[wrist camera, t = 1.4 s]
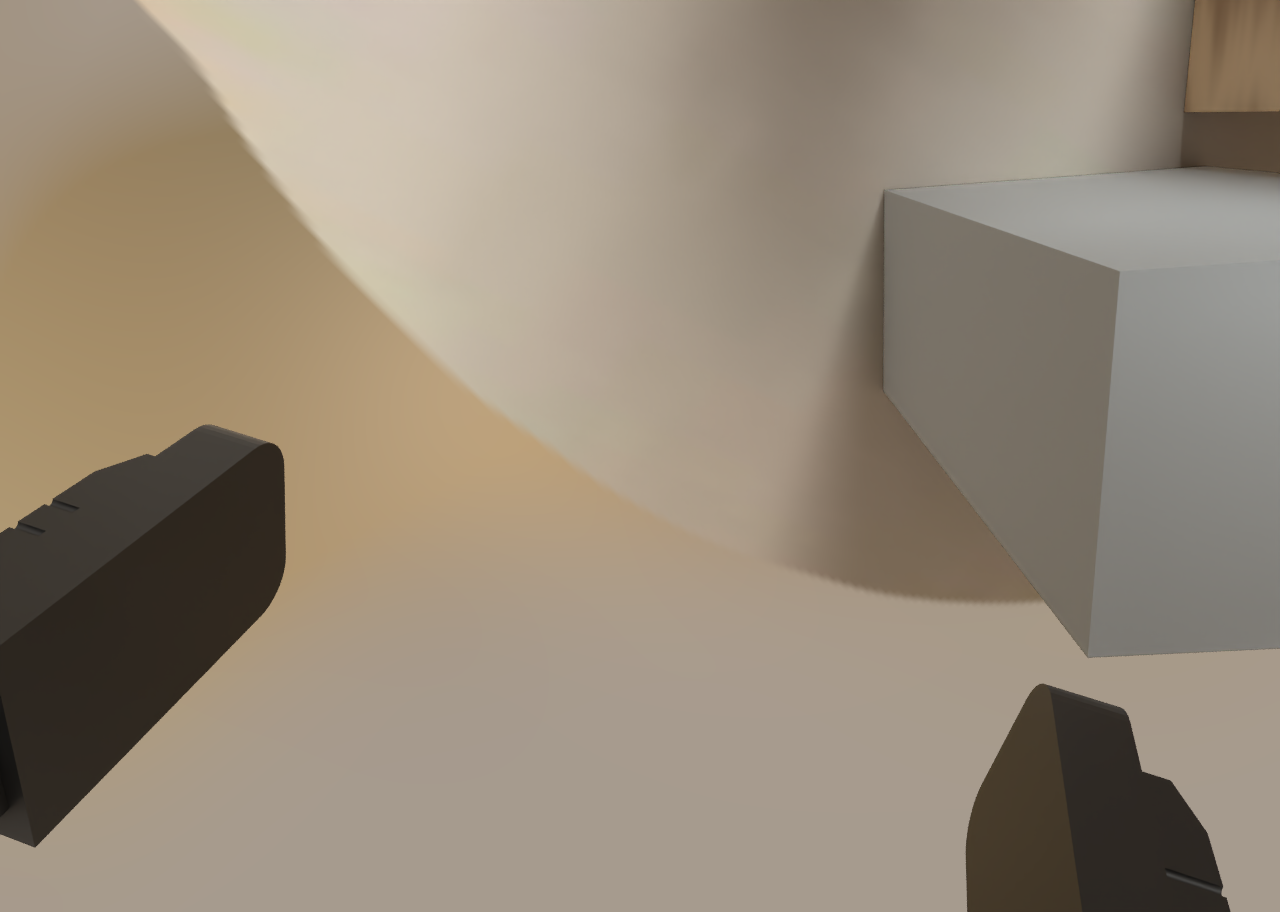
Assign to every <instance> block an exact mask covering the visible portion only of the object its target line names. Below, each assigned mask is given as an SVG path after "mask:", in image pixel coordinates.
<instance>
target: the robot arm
mask: <svg viewBox="0 0 1280 912" xmlns="http://www.w3.org/2000/svg"><path fill="white" fill-rule="evenodd" d="M285 560H286V544H285V482H284V459H283V455H282V453H281V450H280V449H279V448H278V446H276V445H275V444H272V443H269V442H266V441H263V440H260V439H256V438H253V437H250V436H246V435H243V434H240V433H237V432H234V431H230V430H227V429H224V428H221V427H218V426H214V425H203V426H200V427H198V428H197V429H195V430H193V431H192V432H190V433H189V434H187V435H186V436H184V437H183V438H181V439H180V440H179V441H177V442H176V443H174V444H173V445H171V446H170V447H168V448H167V449H165V450H164V451H162V452H161V453H160V454H158V455H157V456H152V455H149V454H146V455H143V456H140V457H137V458H134V459H131V460H128V461H125V462H122V463H119V464H116V465H113V466H110V467H107V468H104V469H101V470H98V471H95V472H93V473H92V474H90V475H89V476H87V477H85V478H84V479H82V480H81V481H79V482H78V483H76V484H75V485H73V486H72V487H70V488H69V489H67V490H66V491H64V492H63V493H61V494H59V495H58V496H56V497H55V498H53V501H52V504H51V505H50V506H47V505H45V504H44V505H43V506H41V507H40V508H38V509H37V510H35V511H33V512H32V513H31V514H29V515H28V516H26V517H24V518H23V519H21V520H20V521H18V525H17V527H16V528H15V529H13V528H10V527H9V528H7V529H6V530H4V531H3V532H1V533H0V834H1V835H4V836H6V837H9V838H12V839H14V840H17V841H20V842H22V843H25V844H28V845H30V846H32V847H36V846H37V845H38V844H39V843H40V842H41V841H42V840H43V839H44V838H45V837H46V836H47V835H48V834H49V833H50V832H51V831H52V830H53V829H54V828H55V826H56V825H58V824H59V823H60V821H61V820H62V819H63V818H64V817H65V816H66V815H67V814H68V813H69V812H70V811H71V810H72V809H73V808H74V807H75V806H76V805H77V804H78V803H79V802H80V801H81V800H82V799H83V798H84V797H85V796H86V795H87V794H88V793H89V792H90V791H91V790H92V789H93V788H94V787H95V786H96V785H97V784H98V783H99V781H100V780H101V779H102V778H103V777H104V776H105V775H106V774H107V773H108V772H109V771H110V770H111V769H112V768H113V767H114V766H115V765H116V764H117V763H118V762H119V761H120V760H121V759H122V758H123V757H124V756H125V755H126V754H127V753H128V752H129V751H130V750H131V749H132V748H133V747H134V746H135V745H136V744H137V743H138V742H139V740H140V739H141V738H142V737H143V736H144V735H145V734H146V733H147V732H148V731H149V730H150V729H151V728H152V727H153V726H154V725H155V724H156V723H157V722H158V721H159V720H160V719H161V718H162V717H163V716H164V715H165V714H166V713H167V712H168V711H169V710H170V709H171V707H172V706H174V705H175V704H176V703H177V702H178V700H179V699H180V698H181V697H182V696H183V695H184V694H185V693H186V692H187V691H188V690H189V689H190V688H191V687H192V686H193V685H194V684H195V683H196V682H197V681H198V680H199V679H200V678H201V677H202V676H203V675H204V674H205V673H206V672H207V671H208V670H209V669H210V668H211V667H212V666H213V665H214V664H215V663H216V662H217V660H218V659H219V658H220V657H221V656H222V655H223V654H224V653H225V652H226V651H227V650H228V649H229V648H230V647H231V646H232V645H233V644H234V643H235V642H236V641H237V640H238V639H239V638H240V637H241V636H242V635H243V634H244V633H245V632H246V631H247V630H248V629H249V628H250V627H251V626H252V625H253V624H254V623H255V622H256V621H257V620H258V618H259V617H260V616H261V615H262V614H263V613H264V612H265V611H266V609H267V608H268V607H269V605H270V603H271V602H272V600H273V598H274V596H275V594H276V592H277V590H278V588H279V586H280V583H281V580H282V577H283V573H284V568H285ZM966 875H967V876H966V878H967V879H966V880H967V912H1230V909H1229V905H1228V902H1227V898H1225V897H1223V896H1222V895H1221V891H1222V888H1223V884H1222V881H1221V878H1220V874H1219V871H1218V867H1217V864H1216V861H1215V857H1214V854H1213V851H1212V847H1211V844H1210V840H1209V837H1208V834H1207V832H1206V830H1205V829H1204V828H1203V826H1202V825H1201V823H1200V822H1199V820H1198V819H1197V818H1196V816H1195V815H1194V814H1193V812H1192V810H1191V809H1190V808H1189V806H1188V805H1187V803H1186V802H1185V801H1184V799H1183V798H1182V796H1181V795H1180V793H1179V792H1178V790H1177V789H1176V787H1175V786H1174V785H1173V783H1172V782H1171V781H1170V780H1167V779H1164V778H1161V777H1157V776H1154V775H1151V774H1148V773H1145V772H1142V770H1141V766H1140V762H1139V757H1138V753H1137V749H1136V745H1135V740H1134V736H1133V732H1132V728H1131V724H1130V721H1129V717H1128V715H1127V713H1126V712H1125V711H1124V710H1123V709H1122V708H1120V707H1117V706H1114V705H1110V704H1107V703H1104V702H1101V701H1098V700H1094V699H1091V698H1088V697H1085V696H1081V695H1078V694H1075V693H1071V692H1068V691H1065V690H1062V689H1059V688H1056V687H1052V686H1049V685H1046V684H1039V685H1038V686H1036V687H1035V688H1034V689H1033V690H1032V692H1031V693H1030V694H1029V696H1028V698H1027V699H1026V701H1025V704H1024V705H1023V707H1022V709H1021V711H1020V713H1019V715H1018V717H1017V719H1016V720H1015V722H1014V724H1013V726H1012V728H1011V730H1010V732H1009V734H1008V736H1007V738H1006V740H1005V741H1004V743H1003V745H1002V747H1001V749H1000V751H999V753H998V755H997V757H996V758H995V761H994V763H993V764H992V766H991V768H990V770H989V772H988V774H987V776H986V778H985V779H984V782H983V783H982V785H981V787H980V789H979V792H978V794H977V797H976V800H975V802H974V806H973V809H972V813H971V817H970V821H969V826H968V833H967V840H966Z"/></svg>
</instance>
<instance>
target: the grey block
mask: <svg viewBox="0 0 1280 912" xmlns="http://www.w3.org/2000/svg"><path fill="white" fill-rule="evenodd" d="M883 391H884V393H885V394H886V395H887V397H888V398H889V399H890V400H891V402H892V403H893V404H894V406H895V407H896V408H897V410H898V411H899V412H900V414H901V415H902V416H903V417H904V419H905V420H906V421H907V423H908V424H909V425H910V427H911V428H912V429H913V430H914V432H915V433H916V434H917V436H918V437H919V438H920V440H921V441H922V442H923V444H924V445H925V446H926V447H927V449H928V450H929V451H930V453H931V454H932V455H933V457H934V458H935V459H936V460H937V462H938V463H939V464H940V466H941V467H942V468H943V470H944V471H945V472H946V474H947V475H948V476H949V477H950V479H951V480H952V481H953V483H954V484H955V485H956V487H957V488H958V489H959V490H960V492H961V493H962V494H963V496H964V497H965V498H966V500H967V501H968V502H969V504H970V505H971V506H972V507H973V509H974V510H975V511H976V513H977V514H978V515H979V517H980V518H981V519H982V520H983V522H984V523H985V524H986V526H987V527H988V528H989V530H990V531H991V532H992V534H993V535H994V536H995V537H996V539H997V540H998V541H999V543H1000V544H1001V545H1002V547H1003V548H1004V549H1005V550H1006V552H1007V553H1008V554H1009V556H1010V557H1011V558H1012V560H1013V561H1014V562H1015V564H1016V565H1017V566H1018V567H1019V569H1020V570H1021V571H1022V573H1023V574H1024V575H1025V577H1026V578H1027V579H1028V580H1029V582H1030V583H1031V584H1032V586H1033V587H1034V588H1035V590H1036V591H1037V592H1038V594H1039V595H1040V596H1041V597H1042V599H1043V600H1044V601H1045V603H1046V604H1047V605H1048V606H1049V608H1050V609H1051V610H1052V612H1053V613H1054V614H1055V616H1056V617H1057V618H1058V620H1059V621H1060V622H1061V624H1062V625H1063V626H1064V627H1065V629H1066V630H1067V631H1068V633H1069V634H1070V635H1071V636H1072V638H1073V639H1074V640H1075V642H1076V643H1077V644H1078V646H1079V647H1080V648H1081V650H1082V651H1083V652H1084V654H1085V655H1086V656H1087V657H1089V658H1091V657H1110V656H1111V657H1112V656H1133V655H1153V654H1173V653H1193V652H1194V653H1195V652H1214V651H1215V652H1216V651H1237V650H1258V649H1279V648H1280V173H1275V172H1265V171H1254V170H1243V169H1232V168H1221V167H1210V166H1200V167H1187V168H1173V169H1160V170H1146V171H1133V172H1120V173H1106V174H1093V175H1079V176H1066V177H1052V178H1039V179H1025V180H1012V181H998V182H985V183H971V184H958V185H945V186H931V187H918V188H904V189H891V190H884V342H883Z"/></svg>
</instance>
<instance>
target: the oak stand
mask: <svg viewBox="0 0 1280 912" xmlns="http://www.w3.org/2000/svg"><path fill="white" fill-rule="evenodd" d="M1254 111H1280V0H1195V7H1194V17H1193V28H1192V38H1191V48H1190V58H1189V68H1188V78H1187V88H1186V98H1185V108H1184V112H1254Z"/></svg>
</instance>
